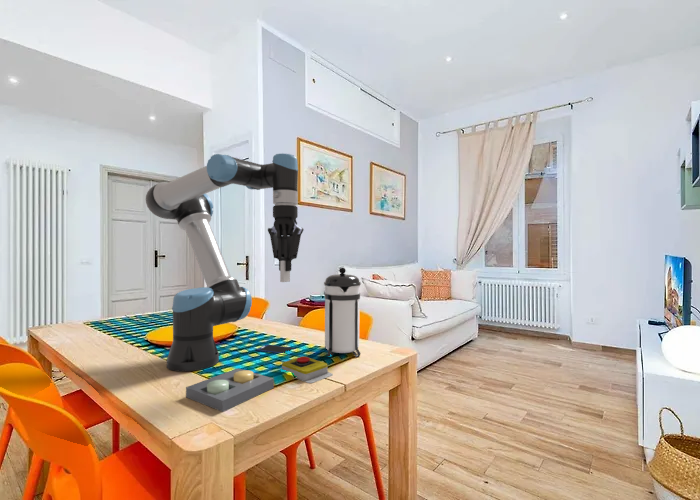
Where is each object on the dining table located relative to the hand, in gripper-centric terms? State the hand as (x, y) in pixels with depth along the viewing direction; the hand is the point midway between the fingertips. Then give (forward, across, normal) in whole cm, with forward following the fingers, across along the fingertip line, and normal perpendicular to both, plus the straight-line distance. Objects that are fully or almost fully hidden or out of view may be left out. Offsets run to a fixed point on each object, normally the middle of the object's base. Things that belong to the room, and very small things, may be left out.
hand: (285, 281), depth 110 cm
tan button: (+26, +2, -18) cm, 32 cm away
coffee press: (+27, +6, +22) cm, 35 cm away
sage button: (+26, +2, -26) cm, 37 cm away
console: (+26, +2, -22) cm, 34 cm away
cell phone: (+27, -14, +11) cm, 32 cm away
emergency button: (+27, +9, -1) cm, 29 cm away
